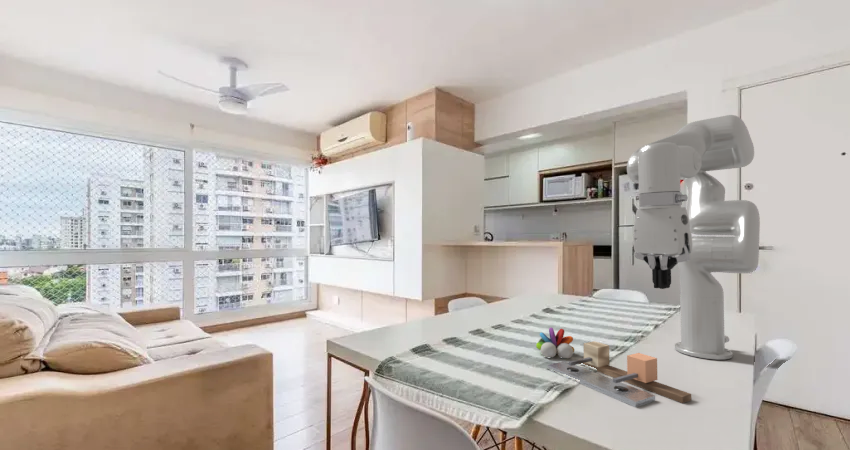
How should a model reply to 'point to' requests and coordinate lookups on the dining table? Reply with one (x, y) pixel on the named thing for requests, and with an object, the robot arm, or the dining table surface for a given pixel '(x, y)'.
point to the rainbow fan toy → (555, 344)
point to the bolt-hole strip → (604, 384)
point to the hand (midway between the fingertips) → (661, 287)
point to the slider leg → (639, 368)
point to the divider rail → (624, 372)
